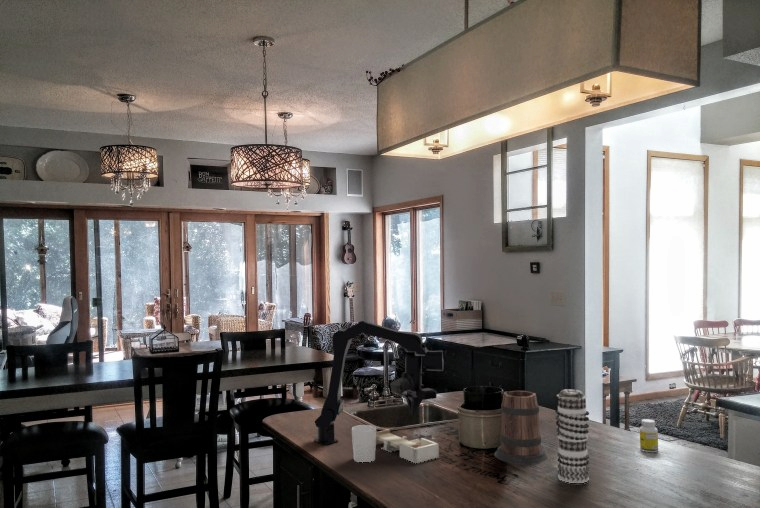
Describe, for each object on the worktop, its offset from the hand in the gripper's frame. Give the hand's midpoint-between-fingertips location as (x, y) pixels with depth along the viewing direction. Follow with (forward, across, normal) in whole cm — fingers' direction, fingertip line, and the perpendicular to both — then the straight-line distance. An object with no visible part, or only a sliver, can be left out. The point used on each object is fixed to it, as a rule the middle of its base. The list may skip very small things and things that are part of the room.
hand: (412, 415), depth 202 cm
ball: (+8, +13, -7) cm, 17 cm away
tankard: (+10, +28, +24) cm, 38 cm away
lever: (+8, -1, -2) cm, 9 cm away
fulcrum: (+10, 0, -7) cm, 12 cm away
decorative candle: (+9, +53, +17) cm, 57 cm away
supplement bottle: (+8, +52, +58) cm, 78 cm away
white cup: (+11, +3, -22) cm, 25 cm away
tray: (+10, +12, -7) cm, 17 cm away
